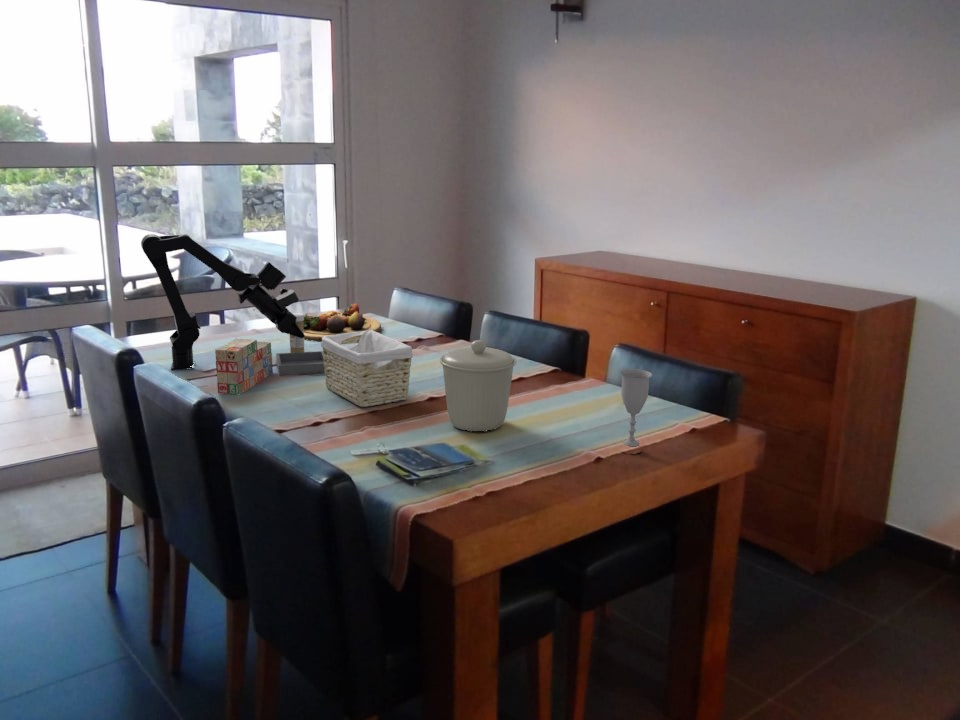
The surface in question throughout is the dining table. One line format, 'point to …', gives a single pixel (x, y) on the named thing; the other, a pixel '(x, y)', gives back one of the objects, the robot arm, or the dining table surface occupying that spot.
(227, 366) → the stack of blocks
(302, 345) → the sprinkles bottle
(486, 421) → the canister
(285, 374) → the box
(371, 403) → the storage basket
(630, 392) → the chalice
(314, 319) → the wooden plate with food
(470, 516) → the dining table surface
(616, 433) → the dining table surface
